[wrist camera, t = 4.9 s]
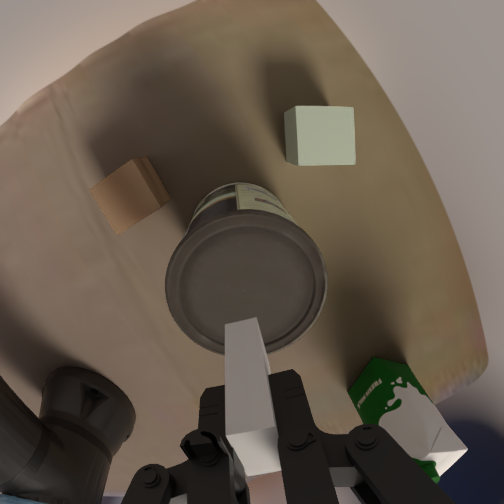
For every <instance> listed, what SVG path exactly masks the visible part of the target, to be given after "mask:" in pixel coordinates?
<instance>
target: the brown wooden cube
mask: <svg viewBox="0 0 504 504" xmlns="http://www.w3.org/2000/svg"><path fill="white" fill-rule="evenodd" d="M89 190H90V192H91V193H92V195H93V197H94V198H95V200H96V202H97V203H98V205H99V207H100V209H101V210H102V212H103V214H104V215H105V217H106V218H107V220H108V222H109V223H110V225H111V227H112V228H113V230H114V231H115V233H116V235H119V234H120V233H122V232H123V231H125V230H126V229H128V228H129V227H131V226H133V225H134V224H136V223H137V222H139V221H140V220H142V219H144V218H145V217H147V216H148V215H150V214H152V213H153V212H155V211H156V210H158V209H160V208H161V207H162V206H163V205H164V204H165V203H167V202H168V201H169V200H170V199H171V197H170V195H169V193H168V192H167V190H166V188H165V187H164V185H163V183H162V182H161V180H160V178H159V177H158V175H157V173H156V171H155V170H154V168H153V166H152V165H151V163H150V161H149V159H148V158H147V156H146V157H140V158H134V159H131V160H130V161H128V162H127V163H126V164H124V165H123V166H121V167H120V168H118V169H117V170H115V171H114V172H113V173H111V174H110V175H108V176H107V177H106V178H104V179H103V180H101V181H100V182H99V183H97V184H96V185H95V186H93V187H92V188H91V189H89Z"/></svg>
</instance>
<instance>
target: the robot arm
mask: <svg viewBox="0 0 504 504" xmlns="http://www.w3.org/2000/svg"><path fill="white" fill-rule="evenodd" d="M135 420H136V414H135V410H134V407H133V405H132V404H131V402H130V400H129V399H128V398H127V396H126V395H125V394H124V393H123V392H122V391H121V390H120V389H119V388H118V387H116V386H115V385H114V384H113V383H111V382H110V381H108V380H107V379H105V378H103V377H102V376H100V375H98V374H96V373H93V372H91V371H88V370H85V369H81V368H76V367H63V368H59V369H57V370H55V371H53V372H52V373H51V374H50V376H49V378H48V379H47V381H46V382H45V384H44V387H43V391H42V402H41V408H40V414H39V418H38V417H37V416H36V415H35V414H34V413H33V412H32V411H31V410H30V409H29V408H28V407H27V406H26V405H25V404H24V402H23V401H22V400H21V399H20V398H19V397H18V396H17V395H16V394H15V392H14V391H13V390H12V389H11V388H10V387H9V386H8V384H7V383H6V382H5V381H4V379H3V378H2V377H1V376H0V491H1V492H2V494H0V504H101V501H102V497H103V493H104V489H105V485H106V480H107V477H108V473H109V469H110V465H111V461H112V458H113V456H114V455H115V454H116V453H117V451H118V450H119V449H120V447H121V445H122V443H123V442H125V441H126V440H127V439H128V438H129V437H130V435H131V434H132V431H133V428H134V424H135ZM180 447H181V449H182V450H183V451H184V453H185V454H186V456H187V457H188V460H187V461H185V462H183V463H181V464H179V465H176V466H173V467H170V468H167V469H166V468H165V467H164V466H161V465H159V464H149V465H146V466H143V467H142V468H140V469H139V470H138V471H137V472H136V474H135V475H134V477H133V479H132V481H131V483H130V486H129V488H128V490H127V492H126V494H125V496H124V498H123V500H122V502H121V504H250V495H249V488H248V485H247V483H246V481H245V473H246V474H247V476H253V475H259V474H265V473H270V472H275V471H280V470H281V471H282V477H283V483H284V489H285V495H286V501H287V504H339V502H338V498H337V495H336V491H335V488H334V487H350V488H351V490H352V491H353V493H354V494H355V495H356V497H357V498H358V500H359V501H360V502H361V504H456V503H455V502H454V501H453V500H452V499H451V498H450V497H449V496H448V495H447V494H446V493H445V492H444V491H443V490H442V489H441V488H440V487H439V486H438V485H437V484H436V483H435V482H434V481H433V480H432V479H431V478H430V477H429V476H428V474H427V473H426V472H425V471H424V470H423V469H422V468H421V467H420V466H419V465H418V464H417V463H416V462H415V461H414V460H413V459H412V458H411V457H410V456H409V454H408V453H407V452H406V451H405V450H404V449H403V448H402V447H401V446H400V445H399V444H398V443H397V442H396V441H395V440H394V439H393V437H392V436H391V435H390V434H389V433H388V432H387V431H386V430H385V429H384V428H382V427H381V426H379V425H375V424H363V425H360V426H357V427H355V428H354V429H353V430H351V431H350V432H349V434H339V435H336V434H328V433H325V432H323V431H321V430H319V429H318V428H317V427H316V425H315V423H314V420H313V417H312V414H311V410H310V407H309V404H308V400H307V397H306V394H305V390H304V387H303V384H302V380H301V377H300V375H299V374H297V373H296V372H295V371H294V370H293V369H291V370H287V371H283V372H279V373H274V374H271V371H270V366H269V361H268V357H267V354H266V350H265V346H264V343H263V339H262V335H261V332H260V328H259V324H258V321H257V317H255V318H251V319H247V320H242V321H238V322H234V323H229V324H225V385H222V386H216V387H211V388H206V389H205V391H204V392H203V394H202V396H201V398H200V410H199V422H198V429H197V430H194V431H192V432H190V433H189V434H187V435H186V436H185V437H184V438H183V439H182V441H181V444H180Z"/></svg>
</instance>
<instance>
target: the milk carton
mask: <svg viewBox="0 0 504 504" xmlns="http://www.w3.org/2000/svg"><path fill="white" fill-rule="evenodd" d="M348 394H349V396H350V398H351V400H352V402H353V404H354V406H355V408H356V409H357V411H358V413H359V415H360V417H361V419H362V422H363V424H375V425H379V426H381V427H382V428H384V429H385V430H386V431H387V432H388V433H389V434H390V435H391V436H392V437H393V439H394V440H395V441H396V442H397V443H398V444H399V445H400V446H401V447H402V448H403V449H404V450H405V451H406V452H407V453H408V454H409V456H410V457H411V458H412V459H413V460H414V461H415V462H416V463H417V464H418V465H419V466H420V467H421V468H422V469H423V470H424V471H425V472H426V473H427V474H428V476H429V477H430V478H431V479H432V480H433V481H434V482H435V483H436V484H437V482H438V481H439V480H440V475H442V474H443V473H444V472H445V471H446V470H447V469H448V468H449V467H450V466H451V465H453V463H455V462H456V461H457V460H458V459H459V458H460V457H461V456H462V455H463V454H464V453H465V452H466V451H467V450H468V448H467V447H466V446H465V445H464V444H463V443H462V442H461V440H460V439H459V438H458V437H457V436H456V434H455V433H454V432H453V431H452V430H451V429H450V427H449V426H448V425H447V423H446V422H445V421H444V419H443V417H442V416H441V414H440V413H439V411H438V410H437V408H436V407H435V405H434V404H433V402H432V401H431V399H430V398H429V396H428V395H427V393H426V392H425V390H424V389H423V388H422V386H421V385H420V383H419V382H418V380H417V379H416V377H415V376H414V374H413V372H412V371H411V369H410V368H409V366H408V365H406V364H402V363H397V362H393V361H389V360H385V359H381V358H377V357H373V358H372V359H371V361H370V362H369V364H368V365H367V366H366V368H365V369H364V371H363V372H362V374H361V375H360V376H359V378H358V379H357V381H356V382H355V383H354V385H353V386H352V387H351V389H350V390H349V391H348Z"/></svg>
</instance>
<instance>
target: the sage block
mask: <svg viewBox="0 0 504 504" xmlns="http://www.w3.org/2000/svg"><path fill="white" fill-rule="evenodd" d="M284 126H285V144H286V162H289V163H292V164H295V165H298V166H308V165H355V131H354V111H353V107H336V106H294V107H293V108H291V109H289V110H287V111H286V112H284Z"/></svg>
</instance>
